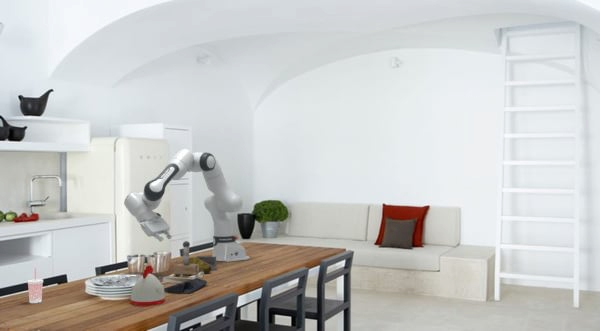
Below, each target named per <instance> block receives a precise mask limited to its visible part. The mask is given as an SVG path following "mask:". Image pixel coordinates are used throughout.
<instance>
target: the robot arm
mask: <svg viewBox="0 0 600 331" xmlns="http://www.w3.org/2000/svg"><path fill="white" fill-rule="evenodd" d="M189 172H190V173H191V172H192V173H200V172H202V173H201V174H202V175H203V180H204V181H205V183H206V187H207V189H208V191H210V192H211V193H210V194H208V195H206V196H205V197H204V198H205V199H204V203H203V204H204V207H205V209H206V210H207V211H208V212H209V213H210V216H211V219H212V222H213V236H212V237H213V238H212V244H213V249H212V255H211V256H214V257H216V262H228V263H229V262H236V261H237V262H239V261H246V260H247V261H248V260H250V256H249V255H247V252H246V249H245V248H244V246H242V245H241V244H240V243H238V242H237V241H238V240H239V236H237V235H234V233H233V231H234V229H233V227H234V224H233V221H232V220H231V219H230V218H229V216H228V213H229V214H232V213H237V212H239V211H241V210H242V208H243V200H242V198H241V196H239V195H238V194H237V193H235V192H234V191H233V190H232V188H231V187H230V186H229V184H228V183H227V181H226V178H225V176H224V173H223V171H222V167H221V165H220V164H219V162H218V160H217V158H216V157H215V156H214V155H213V153H210V152H206V151H205V152H200V151H197V152H193V151H191V150H190V149H188V148H183V149H182V148H181V149H180V150H179V151H177V152H176V154H174V155H173V156H172V157H170V159H169V161H168V162H167V164H166V165H165V167H164V169H163V170H162V171H161V172H160V173H159V174H158V176H157V177H155V178H154V179H152V180H150V181H148V182H147V183H146V184H145V186H144V189H143V191H141V192H135V191H133V192H132V191H131V192H130V193H129V194H128V195H127V196H126V198H125V199H124V203H123V204H124V206H125V208H126V210H127V211H128V212H129V213H130V214H131V215H132V216H133V217H135V219H136V220H137V222H138V223H139V224H140V228H141V230H142V231H143V233H144V234H145V235H146V236H147V237H149V238H151V237H153V238H155V239H156V240H158V241H159V242H162V241H163V240H164V237H162V236H161V235H162V234H164V235H165V236H166V238H167V239H168V240H170V239H172V237H173V236H172V234H171V233H170V231H169V230H171V226H170V224H168V222H167V221H166V220H165V218H163V217H162V215H161V213H160V212H155V209H157V208H159V206H160V204H161V203H162V199H163V196H164V194H165V191H166V187H167V186H168V185H169V183H170V182H172V180H174V181H178V180H179V181H180V179H182V178H183V177H184V176H185V175H186V174H187V173H189Z"/></svg>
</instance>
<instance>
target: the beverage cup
mask: <svg viewBox="0 0 600 331" xmlns="http://www.w3.org/2000/svg"><path fill="white" fill-rule="evenodd" d="M43 283H44V279H43V278H37V268H36V267H35V268H34V278H33V279H28V280H27V285H28V286H27V287H28V299H29V303H30V304H38V302H39V303H41V302H42V299H43Z"/></svg>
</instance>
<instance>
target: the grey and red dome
mask: <svg viewBox="0 0 600 331" xmlns="http://www.w3.org/2000/svg"><path fill="white" fill-rule="evenodd" d="M153 272H154V267H153V266H152V265H147V266H145V269H143V273H141V276H139V278H138V279H137V280H136V281H135V283H134V285H132V286H131V295H130V304H131V305H133V306H139V307H146V306H147V307H149V306H158V305H161V304H163V303H165V301H166V296H165V292H164V288H165V286H164V284H162V282H160V280H159V279H158V278H157V276H156V275H154V274H153Z"/></svg>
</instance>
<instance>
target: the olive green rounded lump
mask: <svg viewBox="0 0 600 331" xmlns="http://www.w3.org/2000/svg"><path fill="white" fill-rule="evenodd" d="M189 264H199V272H204V274H209V273H210V272H211V271H212V270H211V266H210V265H209V264H208V263H206V262H204V261H202V260H200V259H199V258H197V257H195V256H193V257H189Z"/></svg>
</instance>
